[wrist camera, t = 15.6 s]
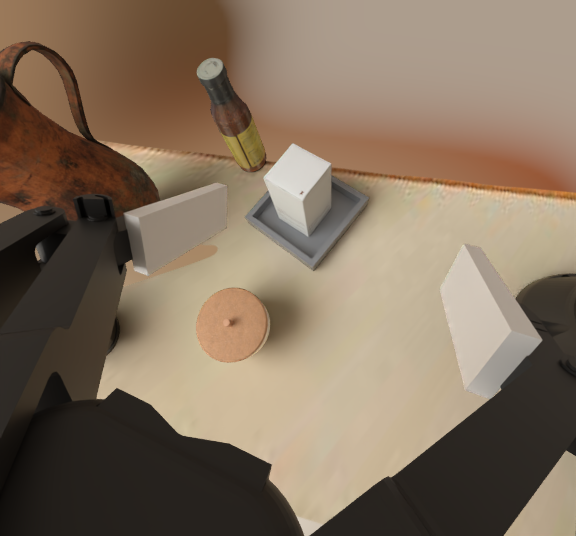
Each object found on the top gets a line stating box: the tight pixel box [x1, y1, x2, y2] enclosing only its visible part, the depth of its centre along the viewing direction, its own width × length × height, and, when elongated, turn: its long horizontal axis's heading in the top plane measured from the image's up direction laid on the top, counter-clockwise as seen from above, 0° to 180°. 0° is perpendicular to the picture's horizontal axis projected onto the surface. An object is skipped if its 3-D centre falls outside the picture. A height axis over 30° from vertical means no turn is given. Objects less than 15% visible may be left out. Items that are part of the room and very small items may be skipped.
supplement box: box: [263, 144, 331, 237], centre depth 44 cm, size 7×7×13 cm
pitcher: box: [0, 41, 160, 221], centre depth 41 cm, size 17×21×30 cm
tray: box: [245, 175, 369, 271], centre depth 49 cm, size 16×16×2 cm
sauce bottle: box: [197, 58, 266, 172], centre depth 46 cm, size 7×6×20 cm
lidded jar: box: [196, 288, 270, 362], centre depth 42 cm, size 11×11×9 cm
